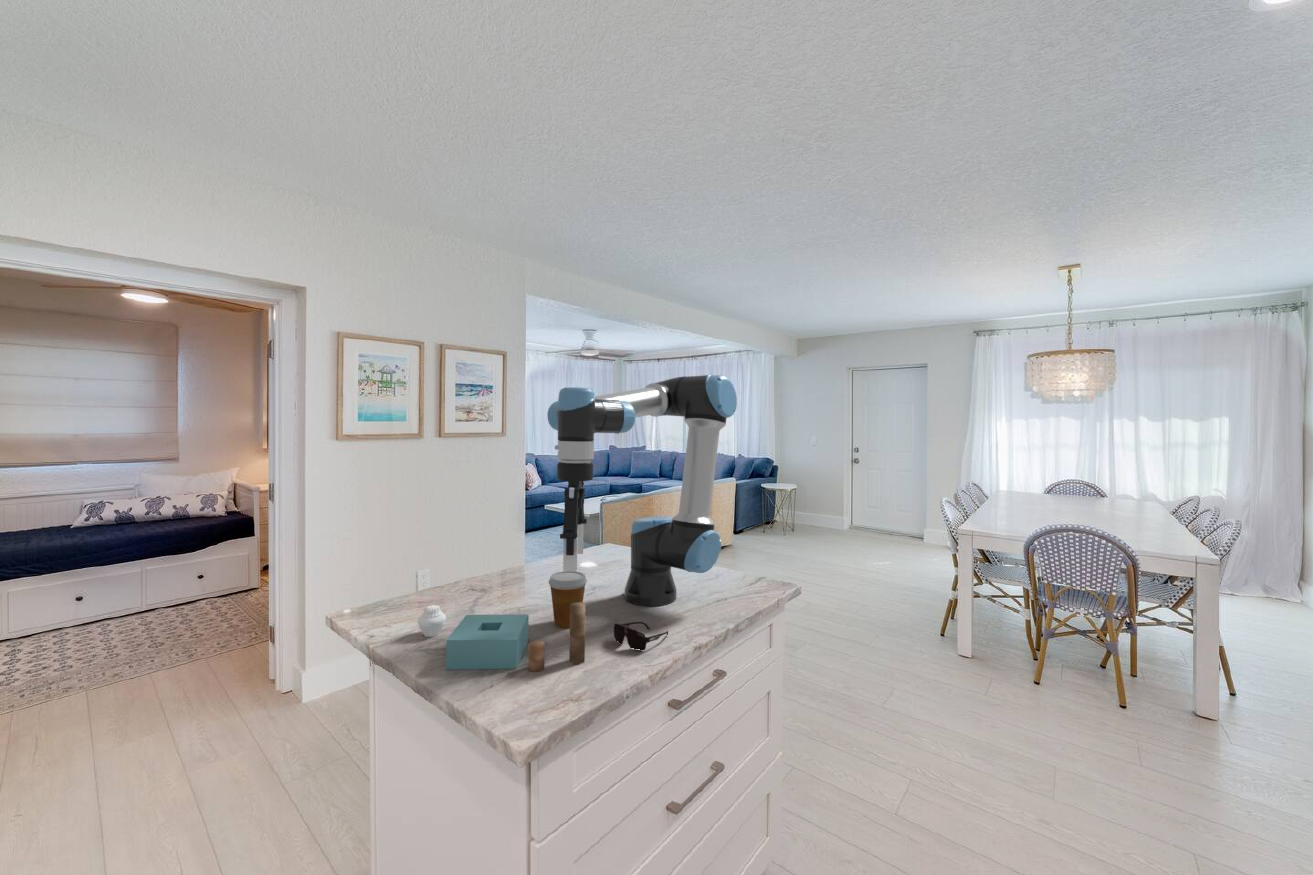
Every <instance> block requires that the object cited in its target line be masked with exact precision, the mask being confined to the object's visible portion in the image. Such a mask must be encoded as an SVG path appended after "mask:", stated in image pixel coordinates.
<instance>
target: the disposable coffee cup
mask: <svg viewBox="0 0 1313 875" xmlns="http://www.w3.org/2000/svg"><path fill="white" fill-rule="evenodd" d="M587 582H588V579H587V577H586V574H585V573H584V572H581V571H578V570H577V571H563V570H562V571H558V572H554V573H552V574H551V575H550V576H549V579H548V584H549V586H550V592H551V602H552V604H551V605H552V611H553V619H554V620H553V621H554V625H555V626H556V627H558V628H563V629H567V628H569V629H570V604H572V603H575V602H582V603H584V595H585V588H586V585H587Z"/></svg>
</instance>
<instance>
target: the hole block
mask: <svg viewBox="0 0 1313 875" xmlns="http://www.w3.org/2000/svg"><path fill="white" fill-rule="evenodd" d="M529 620H530V619H529V614H526V613H525V614H522V613H521V614H520V613H519V614H518V613H514V614H513V613H512V614H466V615H465V616H464V617H463V618H462V620H461V621H460V622H459V624H458V625H457V626H456V627H455V629H454V630H453V631H452V633H451V634H449V636H448V638H447V639H446V643H445V648H446V649H445V660H446V662H445V669H446V671H448V670H450V671H451V670H452V671H453V670H502V669H503V670H505V669H506V670H509V669H511V670H513V669H514V670H515V669H518V666H519V663H520V661H521V659H522V656H523V654H524V651H525V649H526V647H527V644H528V641H529Z"/></svg>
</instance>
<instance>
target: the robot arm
mask: <svg viewBox="0 0 1313 875" xmlns="http://www.w3.org/2000/svg"><path fill="white" fill-rule="evenodd" d="M557 399H558V400H557V401H554V402H552V403H551V405H550V406H549V407H548V410H547V413H546V414H547V420H548V424H549V425H550V427H551V428H552V429H553V430H555V431H557V444H555V445H554V449H555V450H556V451H557V450H558V451H557V459H558V460H559V462H557V465H556V467H557V468H556V479H557V480H558V481H561V482H567V484H568V485H567V487H565V489H564V491H563V492H564V493H563V494H564V512H563V513H564V514H563V526H562V533H560V534H559V539H563V550H562V551H563V553H562V554H563V557H562V560H563V562H562V565H563V566H562V571H578V555H583V554H584V527H585V526H584V525H586V524H587V521H588V520H587V518H585V517H586V516H585V508H584V507H585V506H584V504H585V495H586V494H585V493H586V488H584V485H585V482H587V481H588V482H589V481H592V480H593V479H594V464H593V462H592V460H594V458H595V434H617V435H618V434H622V433H623V434H624V433H625V434H626V433H627V432H629V431H631V429H632V428H633V427H634V425H635V422H636V418H641V417H644V416H651V417H654V418H655V417H656V418H657V417H662V416H665V417H666V416H668V417H669V416H672V417H683V419H684V422H685V424H686V425H687V426H688V432H687V439H686V440H687V441H686V448H685V458H684V464H683V465H684V466H683V472H682V473H683V474H682V482H681V489H680V490H681V492H680V500H679V506H678V513H677V514H676V515H674V516H673V517H671V516H651V517H642V518H638V519H635V520H634V521H633V522H632V524H631V533H630V571H629V574H628V578H627V581H626V583H625V587H624V595H623V596H624V599H625V600H626V602H629V603H631V604H635V605H638V606H646V607H647V606H650V607H651V606H653V607H654V606H664V605H669V604H671V603H674V602H675V601H676V599H677V593H678V592H677V587H676V583H675V581H674V576H673V574H672V568H675V569H679V570H684V571H686V572H688V573H696V574H704V573H706V572H708V571H710V570H711V569H712V568H713V567H714V565H716V563H717V561H718V559H719V556H720V555H721V554H720V553H721V549H722V540H721V536H720V534H719V533H718V532H717V531H716V530H715V522H714V521H713V519H712V518H711V516H710V515H711V511H712V510H711V509H712V502H713V501H712V500H713V491H714V482H715V473H716V464H717V458H718V457H717V456H718V447H719V441H720V440H719V438H720V431H721V430H722V429H723V428H724V427H725V426H727V424H726V423H727V418H730V417H732V416H733V415H734V414H735V412H736V411H737V406H738V403H737V402H738V398H737V392H736V388H735V387H734V384H733V382H732V381H731V379H730V378H728V377H726V376H725V375H719V374H718V375H717V374H708V375H706V374H705V375H704V374H703V375H692V376H676V377H674V378H668V379H665V380H662V381H658V382H652V383H649V384H647V385H646V386H645V387H644V388H637V389H631V390H625V391H620V392H613V393H608V394H600V395H595V390H594V389H593V388H589V387H578V386H576V387H574V386H573V387H563V388H561V389H560V390H559V392H558V398H557ZM674 600H675V601H674Z"/></svg>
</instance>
